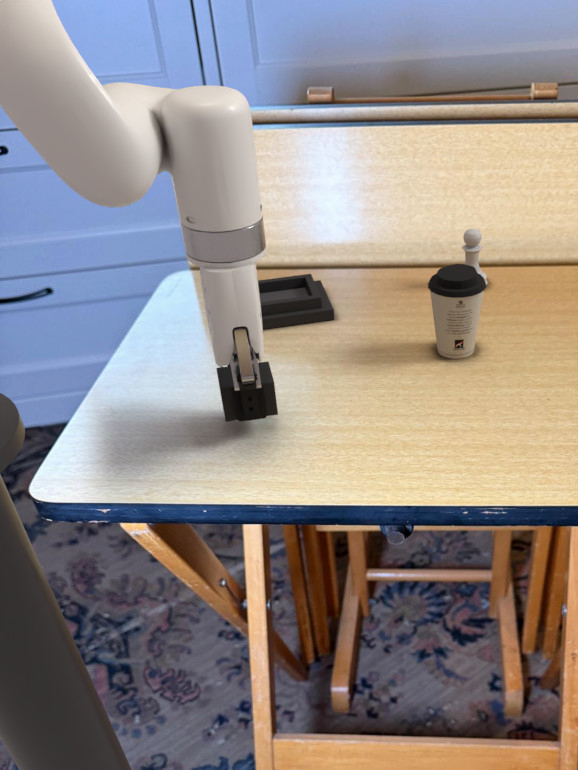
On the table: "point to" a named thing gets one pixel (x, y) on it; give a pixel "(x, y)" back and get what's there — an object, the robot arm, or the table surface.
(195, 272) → the table surface
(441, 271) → the coffee cup
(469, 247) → the chess piece
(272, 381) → the black block
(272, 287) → the base pad
